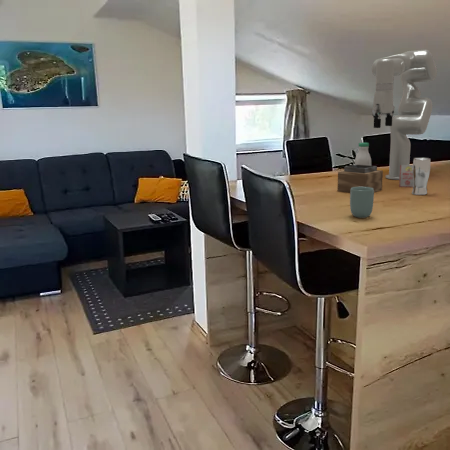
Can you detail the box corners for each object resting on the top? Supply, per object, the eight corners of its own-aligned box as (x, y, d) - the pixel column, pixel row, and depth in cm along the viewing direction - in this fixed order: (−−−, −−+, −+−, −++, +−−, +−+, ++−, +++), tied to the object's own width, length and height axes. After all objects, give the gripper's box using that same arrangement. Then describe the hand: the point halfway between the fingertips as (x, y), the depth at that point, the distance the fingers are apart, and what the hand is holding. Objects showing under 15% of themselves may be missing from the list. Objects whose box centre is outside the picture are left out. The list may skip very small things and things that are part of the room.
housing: (354, 186, 226) (355, 163, 224) (381, 190, 216) (383, 166, 213) (337, 190, 217) (338, 167, 214) (364, 194, 207) (365, 169, 204)
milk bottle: (371, 186, 226) (373, 143, 221) (354, 186, 227) (355, 143, 222) (369, 183, 233) (371, 142, 228) (353, 183, 235) (354, 142, 230)
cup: (346, 214, 172) (347, 187, 170) (367, 213, 173) (368, 186, 170) (354, 219, 165) (355, 191, 162) (376, 218, 165) (377, 190, 163)
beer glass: (427, 192, 207) (430, 157, 203) (428, 195, 201) (431, 159, 197) (410, 192, 209) (412, 157, 206) (410, 195, 203) (413, 159, 199)
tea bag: (399, 185, 226) (400, 164, 223) (414, 186, 223) (416, 164, 221) (399, 187, 222) (400, 165, 220) (414, 187, 220) (416, 165, 218)
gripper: (387, 87, 223) (385, 125, 228) (366, 89, 212) (365, 128, 217) (402, 86, 218) (400, 125, 222) (381, 88, 207) (380, 128, 211)
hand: (382, 126), depth 220 cm, fingers open, 9 cm apart
